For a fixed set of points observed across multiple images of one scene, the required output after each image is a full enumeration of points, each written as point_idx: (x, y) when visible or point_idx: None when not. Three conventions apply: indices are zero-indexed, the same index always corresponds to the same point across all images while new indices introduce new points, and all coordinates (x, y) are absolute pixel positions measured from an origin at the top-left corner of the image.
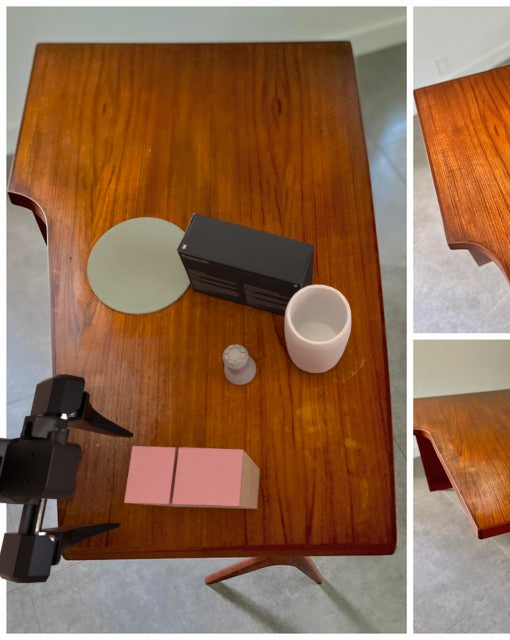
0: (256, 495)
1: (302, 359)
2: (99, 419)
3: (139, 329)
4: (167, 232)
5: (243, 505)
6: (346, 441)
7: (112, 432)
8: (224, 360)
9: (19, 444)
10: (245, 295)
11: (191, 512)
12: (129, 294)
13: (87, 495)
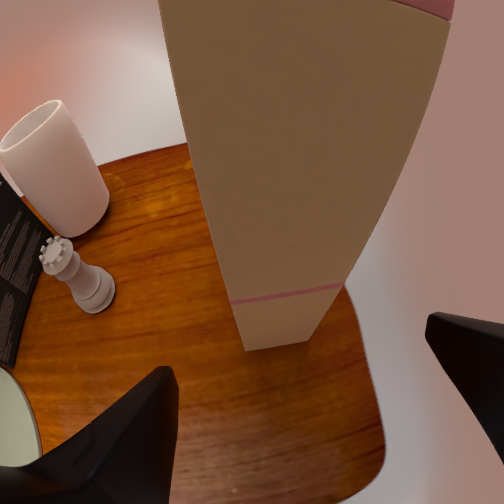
0: None
1: (79, 173)
2: (70, 455)
3: (55, 442)
4: None
5: None
6: (187, 167)
7: (143, 415)
8: (58, 268)
9: None
10: (10, 283)
11: None
12: (21, 449)
13: (320, 479)
